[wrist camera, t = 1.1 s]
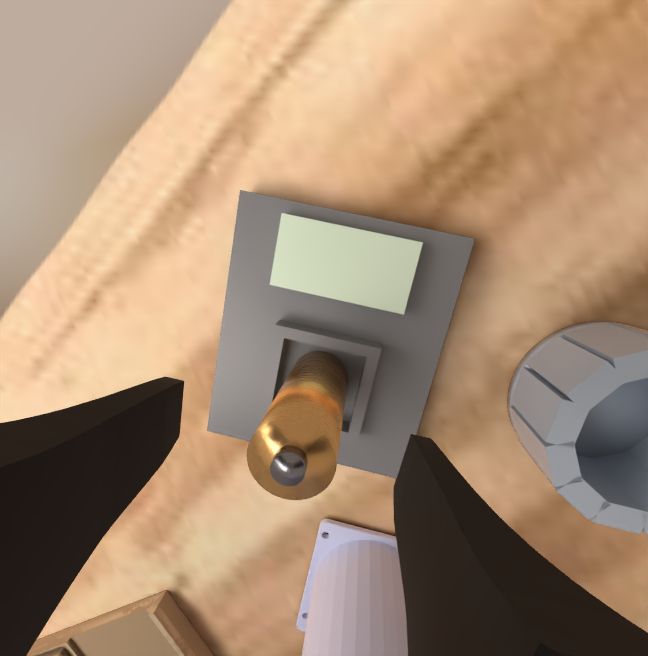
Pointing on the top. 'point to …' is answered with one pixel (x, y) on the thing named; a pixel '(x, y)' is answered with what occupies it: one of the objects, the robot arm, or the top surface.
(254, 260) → the battery tester
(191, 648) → the banker's lamp
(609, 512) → the cup
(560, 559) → the top surface
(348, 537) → the robot arm
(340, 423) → the copper cell
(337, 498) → the top surface
